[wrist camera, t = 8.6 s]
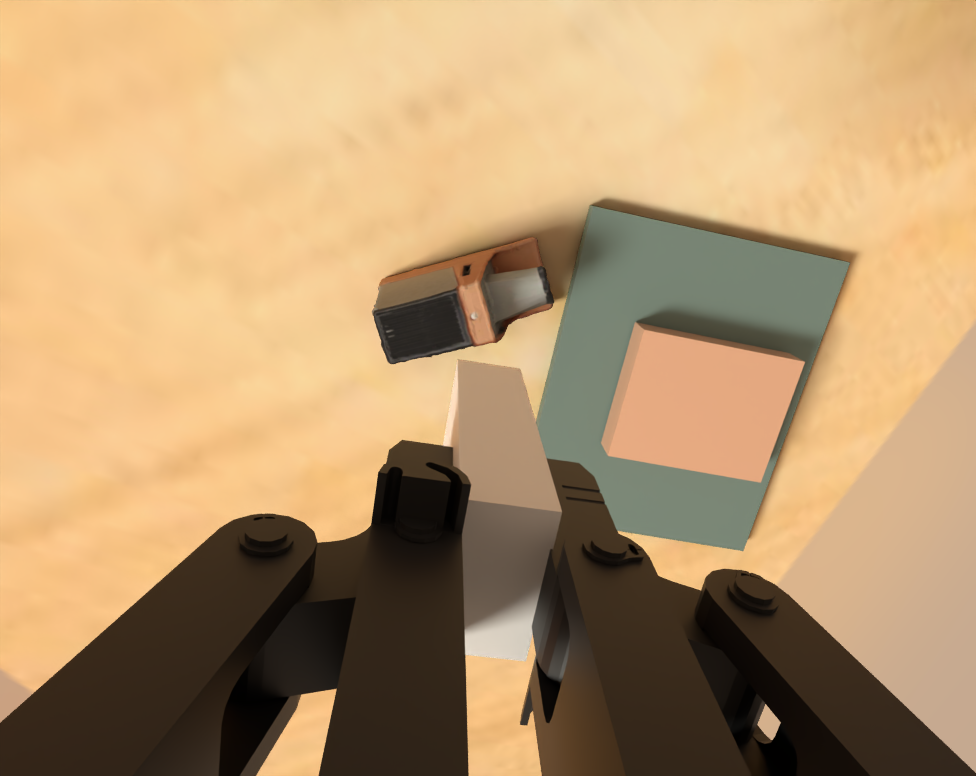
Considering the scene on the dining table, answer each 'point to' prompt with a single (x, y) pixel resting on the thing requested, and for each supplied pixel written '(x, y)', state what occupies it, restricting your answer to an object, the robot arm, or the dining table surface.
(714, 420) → the tile
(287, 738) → the dining table surface
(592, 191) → the dining table surface
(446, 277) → the electronic device
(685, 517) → the mat
